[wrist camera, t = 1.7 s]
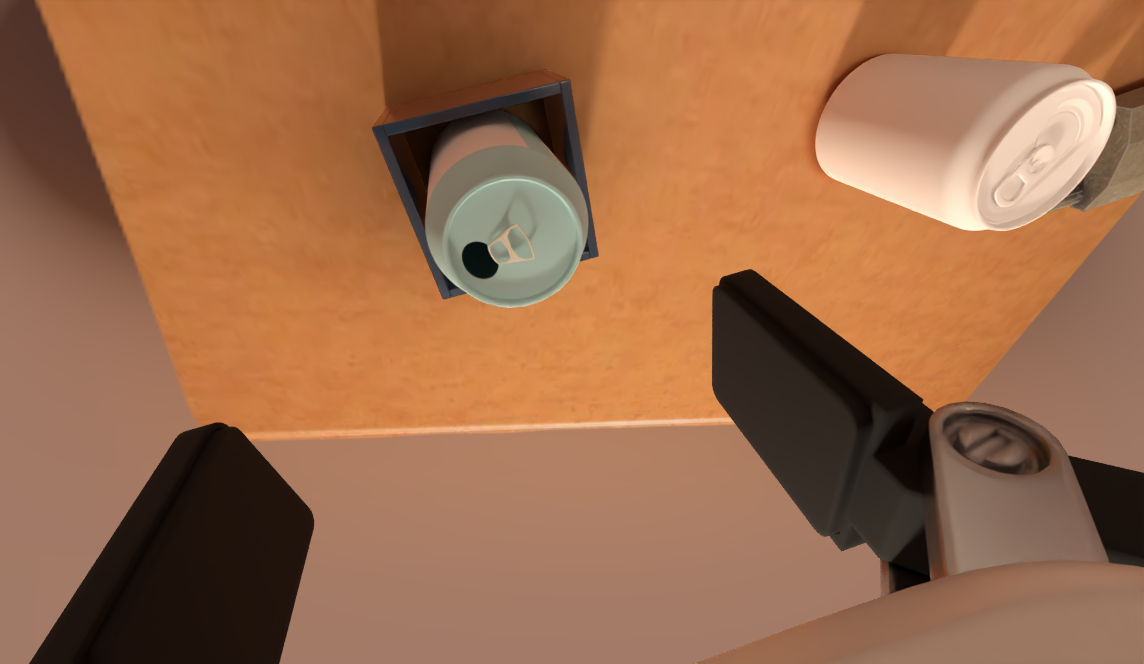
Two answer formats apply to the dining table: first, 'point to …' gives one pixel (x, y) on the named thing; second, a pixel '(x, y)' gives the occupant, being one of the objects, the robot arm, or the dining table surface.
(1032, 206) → the beverage can
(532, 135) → the can
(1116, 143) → the padlock
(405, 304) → the dining table surface
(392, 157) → the holder
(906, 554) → the robot arm
